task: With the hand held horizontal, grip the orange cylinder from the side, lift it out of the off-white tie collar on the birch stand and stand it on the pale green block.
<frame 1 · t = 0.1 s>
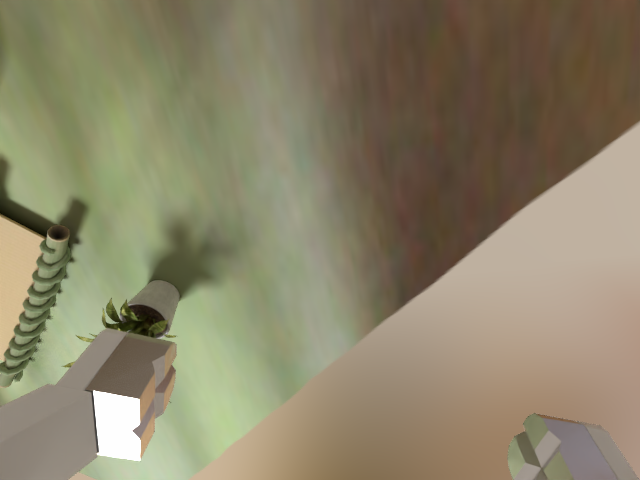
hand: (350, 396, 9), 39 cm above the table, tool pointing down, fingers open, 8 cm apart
house plant: (172, 294, 61), on the table
stretcher: (12, 287, 64), on the table
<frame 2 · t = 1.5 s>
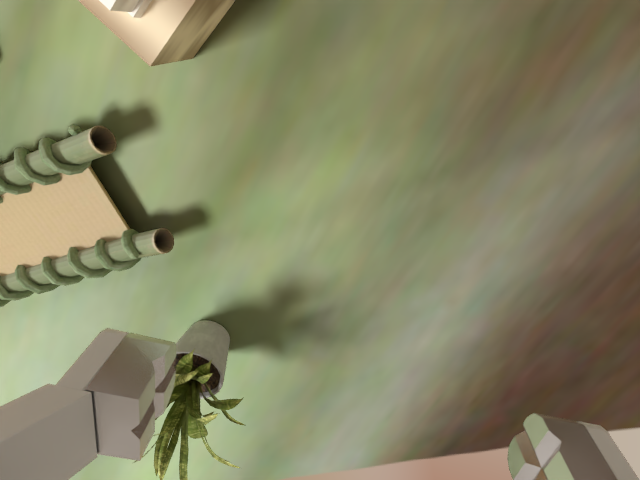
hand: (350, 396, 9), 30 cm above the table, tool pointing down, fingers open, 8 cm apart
house plant: (218, 342, 49), on the table
stretcher: (2, 233, 44), on the table
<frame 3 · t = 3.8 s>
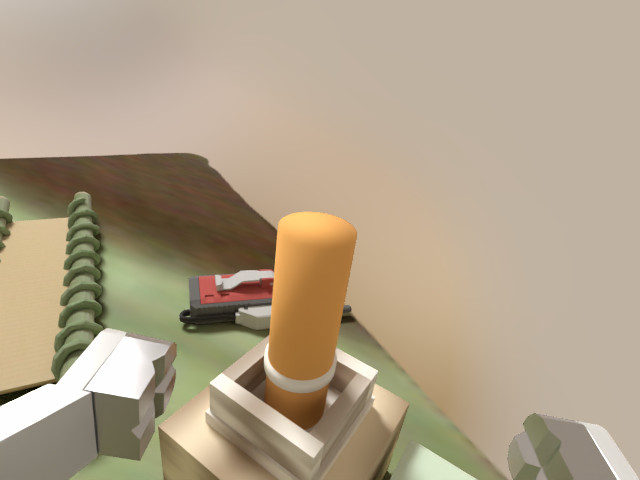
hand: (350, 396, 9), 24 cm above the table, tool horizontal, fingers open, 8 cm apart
orange cylinder: (294, 403, 26), point 9 cm above the table, touching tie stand
walkie-talkie: (265, 309, 49), on the table
stretcher: (33, 299, 46), on the table
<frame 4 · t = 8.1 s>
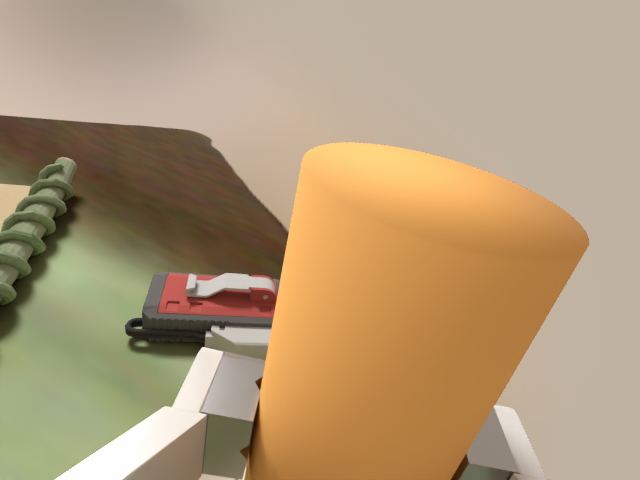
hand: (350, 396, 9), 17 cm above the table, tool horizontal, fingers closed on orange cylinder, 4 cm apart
walkie-talkie: (253, 331, 35), on the table
when the fingers open (16 cm above the table, at t = 12.8 s): orange cylinder drops 2 cm, resting on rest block.
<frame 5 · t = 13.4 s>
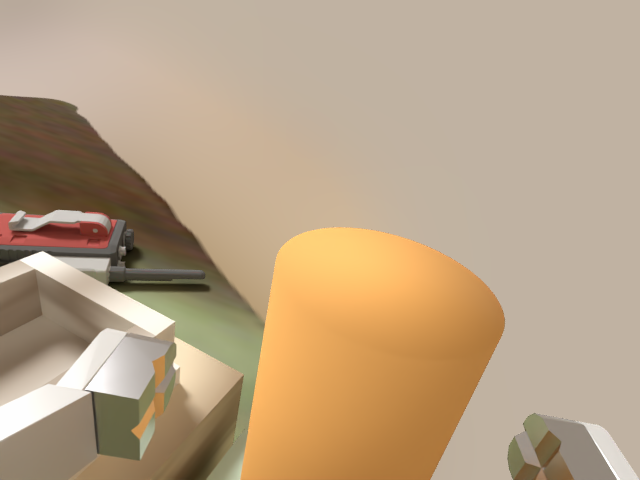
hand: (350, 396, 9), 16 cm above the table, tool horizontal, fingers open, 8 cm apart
walkie-talkie: (91, 266, 37), on the table
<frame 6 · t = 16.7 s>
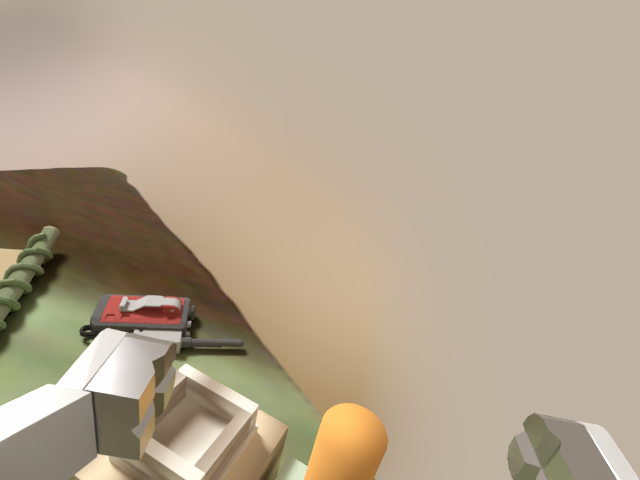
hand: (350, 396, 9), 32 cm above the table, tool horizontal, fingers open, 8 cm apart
walkie-talkie: (167, 333, 54), on the table
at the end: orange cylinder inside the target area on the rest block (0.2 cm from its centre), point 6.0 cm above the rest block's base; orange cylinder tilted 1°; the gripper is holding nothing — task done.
